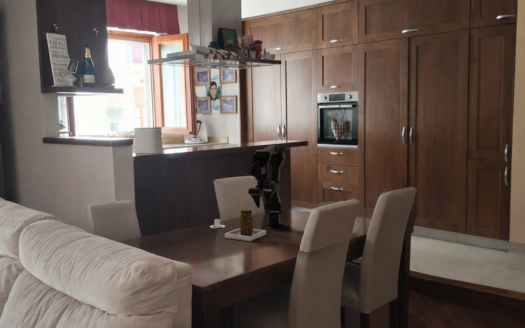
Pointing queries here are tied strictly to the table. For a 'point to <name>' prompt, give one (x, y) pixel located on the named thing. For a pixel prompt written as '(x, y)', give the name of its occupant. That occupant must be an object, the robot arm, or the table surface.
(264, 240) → the table surface
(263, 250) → the table surface
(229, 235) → the tray
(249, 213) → the condiment
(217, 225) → the white ring with post
